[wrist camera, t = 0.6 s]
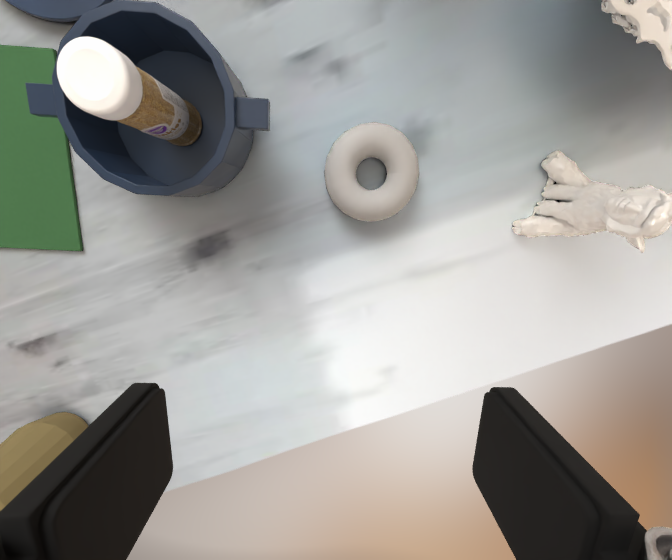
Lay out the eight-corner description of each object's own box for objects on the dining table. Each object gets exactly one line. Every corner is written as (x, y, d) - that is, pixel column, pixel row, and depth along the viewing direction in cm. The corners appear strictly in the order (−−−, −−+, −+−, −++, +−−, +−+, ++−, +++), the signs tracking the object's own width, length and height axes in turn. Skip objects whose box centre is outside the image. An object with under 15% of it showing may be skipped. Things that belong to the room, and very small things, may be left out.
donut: (312, 143, 35) (339, 232, 37) (311, 136, 32) (340, 234, 34) (401, 114, 35) (423, 205, 37) (409, 104, 31) (433, 205, 33)
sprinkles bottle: (177, 155, 34) (87, 128, 21) (149, 115, 33) (36, 61, 20) (212, 130, 34) (142, 88, 21) (185, 89, 33) (92, 17, 20)
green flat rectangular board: (-72, 41, 32) (-77, 39, 31) (56, 50, 32) (52, 48, 32) (-27, 245, 36) (-31, 245, 36) (83, 250, 37) (80, 251, 36)
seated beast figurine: (544, 149, 36) (650, 125, 24) (611, 176, 37) (744, 165, 25) (506, 231, 38) (587, 245, 26) (570, 254, 39) (676, 278, 27)
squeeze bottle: (64, 391, 41) (-129, 534, 24) (113, 433, 43) (-34, 595, 25) (22, 427, 42) (-193, 588, 25) (72, 466, 44) (-96, 644, 26)
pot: (75, 36, 32) (2, -11, 25) (279, 51, 33) (266, 10, 25) (93, 190, 35) (34, 188, 28) (278, 200, 36) (266, 201, 29)
